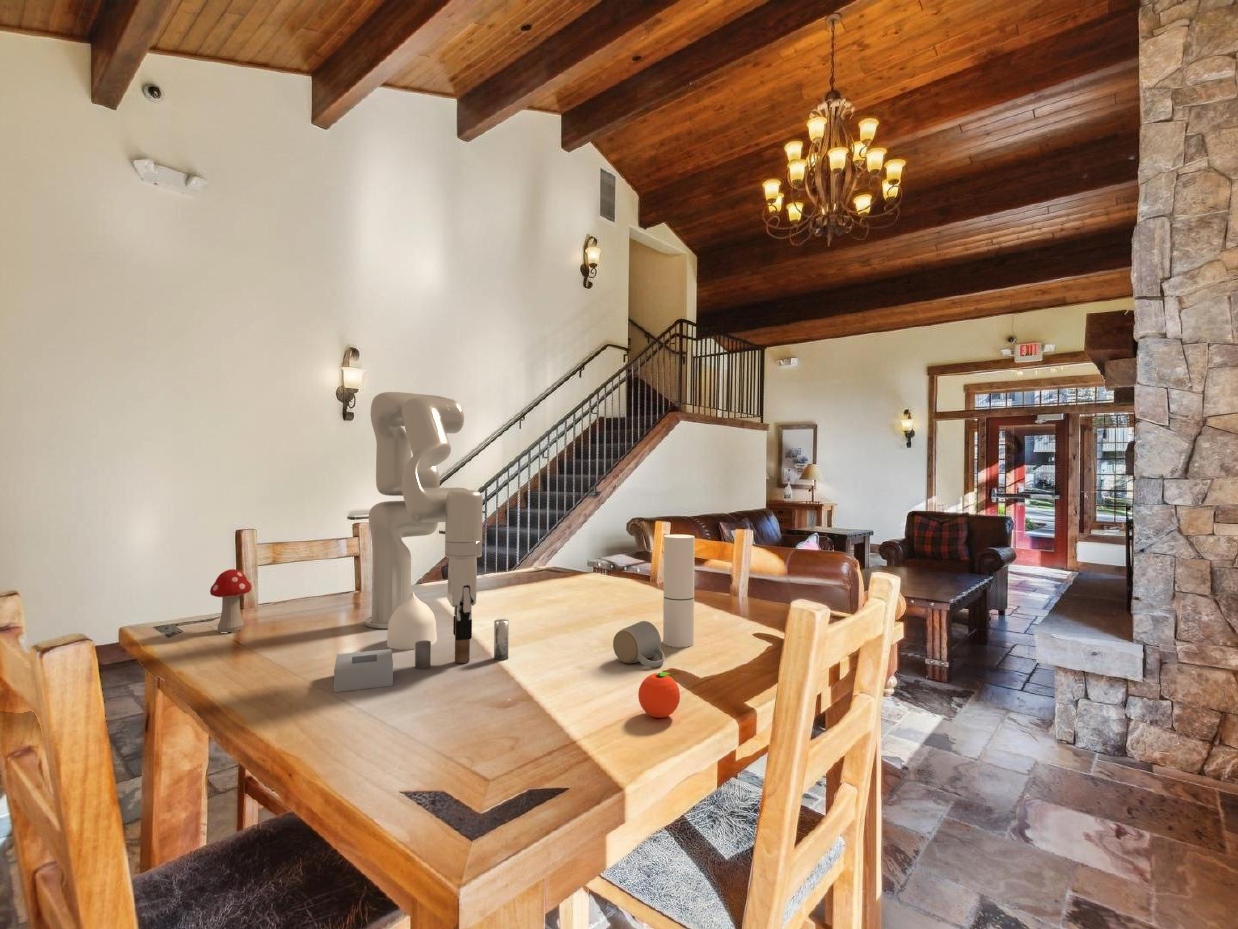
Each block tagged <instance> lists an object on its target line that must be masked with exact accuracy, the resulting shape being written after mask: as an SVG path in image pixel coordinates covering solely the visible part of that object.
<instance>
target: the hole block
mask: <svg viewBox="0 0 1238 929" xmlns="http://www.w3.org/2000/svg"><path fill="white" fill-rule="evenodd" d="M392 650H393V648H388V649H387V648H386V649H377V650H367V651H358V652H348V653H347V652H346V653H345V652H344V653H338V654H336V659H335V664H334V669H333V693H340V692H347V691H348V692H349V691H358V690H366V689H373V688H382V687H383V688H384V687H390V686H394V660H393V652H392Z"/></svg>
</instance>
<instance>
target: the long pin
mask: <svg viewBox="0 0 1238 929" xmlns="http://www.w3.org/2000/svg"><path fill="white" fill-rule="evenodd" d="M460 605H463V602H462V603H460ZM461 610H463V609H461ZM454 616H455V635H454V663H456V664H467V663H469V662H470V660H471V659H470V658H471V657H470V655H471V654H470V650H471V649H470V648H471V646H470V644H471V641H470V640H471V639H467V640H456V620H457V605H456V606H455V615H454Z"/></svg>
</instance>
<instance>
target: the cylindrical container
mask: <svg viewBox="0 0 1238 929" xmlns="http://www.w3.org/2000/svg"><path fill="white" fill-rule="evenodd" d="M695 539H696V538H695V535H691V534H664V535H663V604H662V605H663V606H662V607H663V610H662V611H663V617H662V618H663V620H662V622H663V624H662V626H663V628H662V629H663V632H662V633H663V634H662V635H663V636H662V643H663V644H664V645H665V644H666V645H665V646H667V645H668V646H667V647H671V646H672V647H671V648H688V646H689V647H692V646H694V644H695V548H696V546H695V545H696V544H695V543H696V542H695V541H696V540H695Z"/></svg>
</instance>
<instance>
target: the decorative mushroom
mask: <svg viewBox="0 0 1238 929" xmlns="http://www.w3.org/2000/svg"><path fill="white" fill-rule="evenodd" d="M252 588H253V587H252V584H251V582H250V581H249V580H248V578H247V577H246V574H244V573H243V572H242V571H241V570H239V569H234V568H232V569H227V570H224V571H223V572H221V573H220V574H219V575H218V576H217V577H216V579H215V582H214V583H213V584H212V586H211V587H210V590H209V593H210V594H209V595H211V596H213V597H216V598H222V602H221V603H222V604H221V605H222V606H221V614H220V618H219V622H218V624H217V630H218V633H219V632H234V633H236V632H235V631H238V630H240V629H242V630H243V628H244V624H245V622H244V620H243V618H242V613H241V605H240V604H241V603H240V602H241V601H240V600H241V599H240V598H241V597H240V596H244V595H246V594H248V593H250V592H251V591H252ZM242 627H243V628H242ZM240 631H241V630H240ZM238 632H239V631H238Z"/></svg>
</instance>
